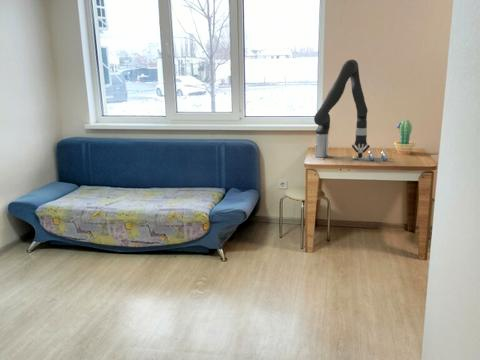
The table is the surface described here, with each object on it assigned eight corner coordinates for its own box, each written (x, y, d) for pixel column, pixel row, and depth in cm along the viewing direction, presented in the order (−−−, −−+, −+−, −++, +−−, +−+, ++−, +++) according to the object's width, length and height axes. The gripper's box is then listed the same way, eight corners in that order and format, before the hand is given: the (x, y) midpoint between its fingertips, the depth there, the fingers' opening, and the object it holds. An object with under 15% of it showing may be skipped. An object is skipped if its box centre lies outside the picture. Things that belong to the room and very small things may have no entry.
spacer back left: (368, 158, 322) (369, 151, 320) (368, 157, 325) (368, 150, 323) (372, 158, 321) (373, 151, 320) (372, 157, 324) (372, 150, 323)
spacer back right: (381, 158, 320) (381, 151, 319) (380, 157, 323) (381, 151, 322) (385, 158, 320) (386, 151, 319) (385, 157, 323) (385, 151, 321)
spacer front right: (383, 161, 312) (383, 154, 311) (382, 160, 315) (383, 153, 314) (387, 161, 312) (388, 154, 311) (387, 160, 315) (387, 153, 313)
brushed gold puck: (352, 159, 319) (352, 157, 318) (351, 158, 323) (352, 156, 322) (358, 159, 318) (358, 157, 318) (357, 158, 322) (357, 156, 322)
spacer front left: (370, 161, 314) (370, 154, 312) (369, 160, 317) (369, 153, 315) (374, 161, 313) (374, 154, 312) (373, 160, 316) (374, 153, 315)
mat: (350, 161, 316) (350, 161, 316) (349, 157, 327) (349, 157, 327) (387, 161, 312) (387, 161, 312) (384, 158, 323) (384, 157, 323)
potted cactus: (406, 150, 347) (408, 118, 340) (419, 154, 332) (422, 121, 326) (389, 152, 343) (391, 119, 336) (401, 156, 328) (403, 122, 322)
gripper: (352, 135, 313) (351, 159, 317) (371, 135, 311) (370, 159, 315) (351, 133, 320) (350, 156, 324) (370, 133, 318) (368, 156, 322)
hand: (360, 157), depth 320 cm, fingers closed
